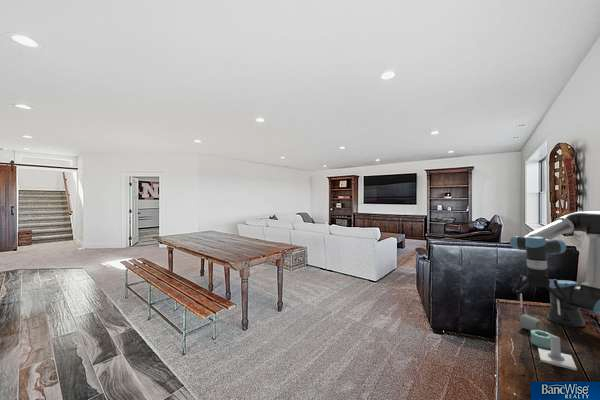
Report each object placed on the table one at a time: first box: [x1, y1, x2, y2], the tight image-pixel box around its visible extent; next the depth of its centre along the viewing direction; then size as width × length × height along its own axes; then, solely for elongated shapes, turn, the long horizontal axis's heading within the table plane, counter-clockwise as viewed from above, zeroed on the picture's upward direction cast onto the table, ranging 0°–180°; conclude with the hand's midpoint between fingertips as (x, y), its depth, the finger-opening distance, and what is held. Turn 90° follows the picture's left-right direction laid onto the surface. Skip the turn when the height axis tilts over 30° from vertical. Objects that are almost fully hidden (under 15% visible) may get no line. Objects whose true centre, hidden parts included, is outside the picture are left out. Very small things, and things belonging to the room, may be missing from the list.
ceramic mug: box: [519, 313, 545, 332], centre depth 139 cm, size 11×8×8 cm
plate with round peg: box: [537, 334, 578, 372], centre depth 114 cm, size 11×11×10 cm
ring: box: [530, 330, 553, 350], centre depth 126 cm, size 8×8×5 cm
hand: (539, 310), depth 126 cm, fingers open, 13 cm apart
